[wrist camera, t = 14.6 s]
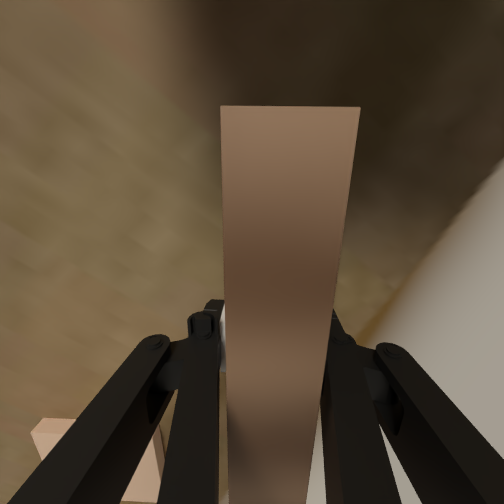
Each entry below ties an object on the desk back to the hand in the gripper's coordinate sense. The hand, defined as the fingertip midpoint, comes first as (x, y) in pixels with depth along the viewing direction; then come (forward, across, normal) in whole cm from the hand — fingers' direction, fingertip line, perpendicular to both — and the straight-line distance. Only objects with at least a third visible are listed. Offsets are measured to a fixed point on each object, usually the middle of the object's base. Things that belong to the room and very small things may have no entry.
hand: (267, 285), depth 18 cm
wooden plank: (0, 0, 0) cm, 0 cm away
